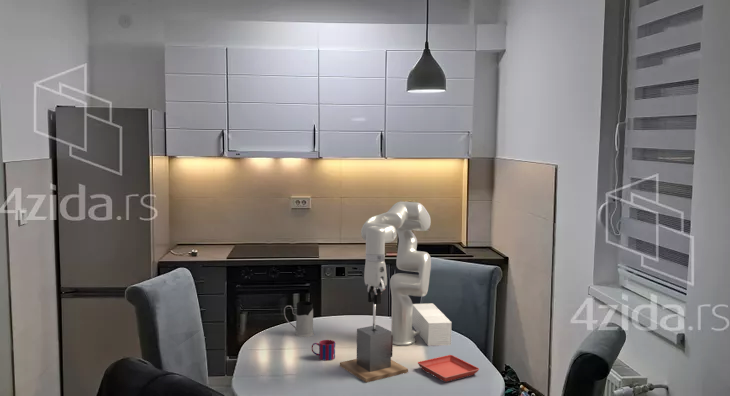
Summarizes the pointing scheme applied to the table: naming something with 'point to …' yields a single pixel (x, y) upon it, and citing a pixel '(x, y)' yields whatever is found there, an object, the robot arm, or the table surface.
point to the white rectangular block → (431, 324)
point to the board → (374, 375)
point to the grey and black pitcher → (303, 319)
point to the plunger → (373, 309)
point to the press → (374, 348)
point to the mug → (326, 350)
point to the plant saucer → (448, 368)
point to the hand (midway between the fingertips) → (374, 302)
